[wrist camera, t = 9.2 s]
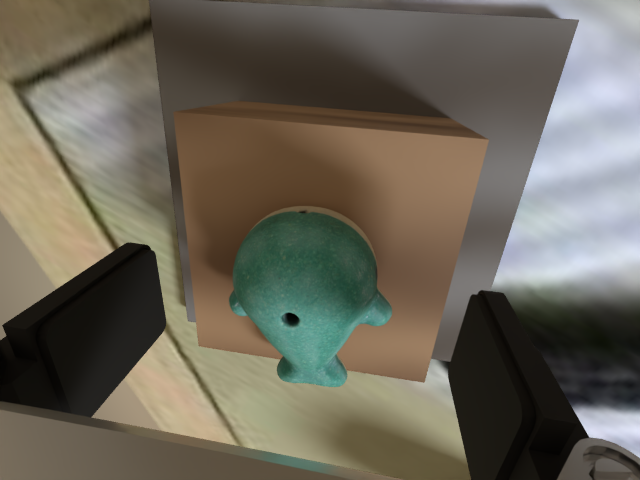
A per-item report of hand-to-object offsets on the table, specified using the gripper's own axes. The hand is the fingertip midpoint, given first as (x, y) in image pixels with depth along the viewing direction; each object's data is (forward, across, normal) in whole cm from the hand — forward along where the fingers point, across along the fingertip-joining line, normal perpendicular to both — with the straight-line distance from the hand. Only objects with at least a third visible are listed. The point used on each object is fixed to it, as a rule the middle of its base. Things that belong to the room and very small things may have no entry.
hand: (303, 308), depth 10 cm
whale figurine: (+3, 0, +1) cm, 3 cm away
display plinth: (+10, 0, 0) cm, 10 cm away
